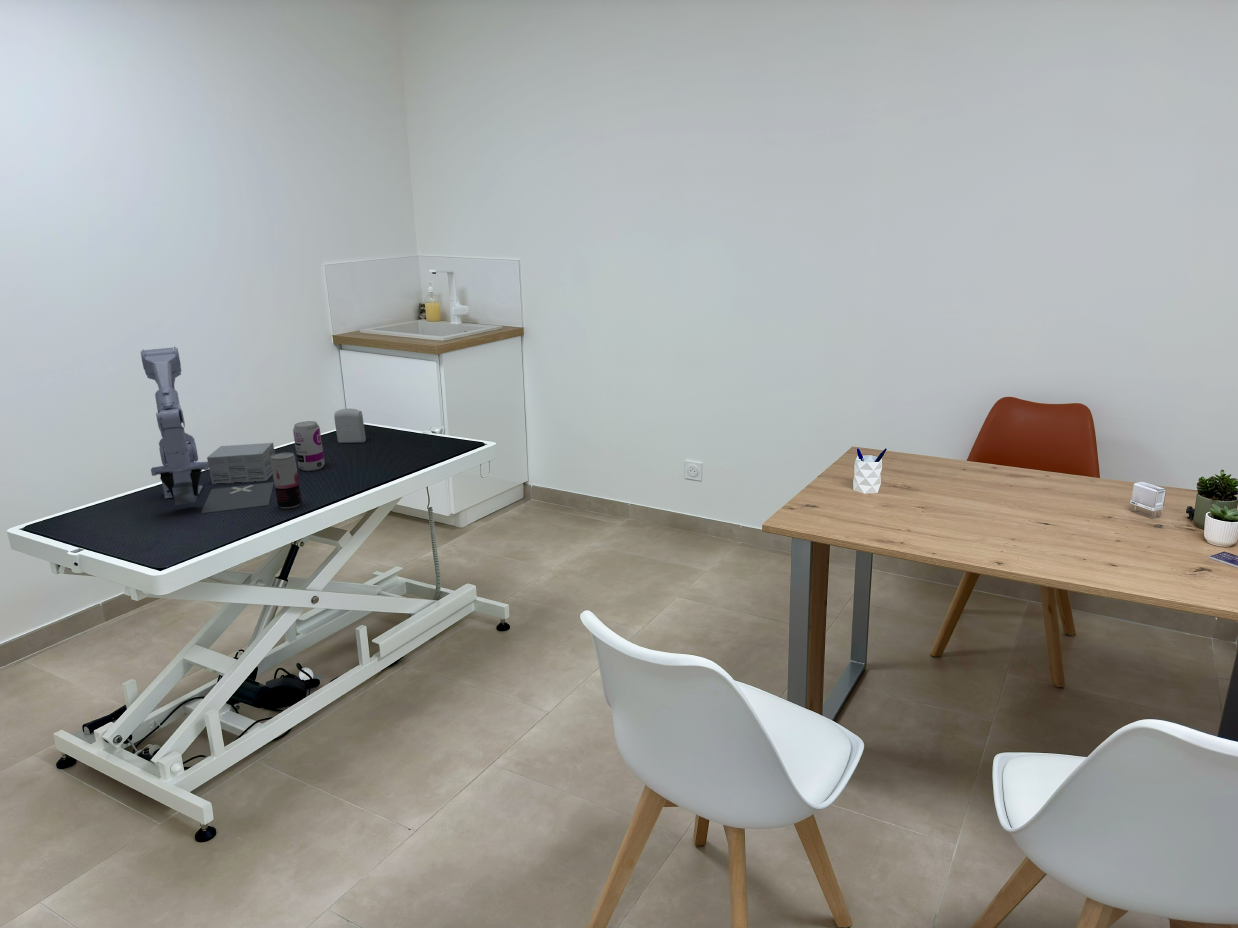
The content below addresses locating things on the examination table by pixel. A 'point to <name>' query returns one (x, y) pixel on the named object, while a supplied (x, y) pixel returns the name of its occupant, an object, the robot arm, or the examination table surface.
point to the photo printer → (349, 426)
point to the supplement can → (308, 446)
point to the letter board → (238, 497)
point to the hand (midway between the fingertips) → (185, 495)
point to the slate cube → (183, 493)
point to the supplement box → (241, 463)
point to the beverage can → (286, 480)
